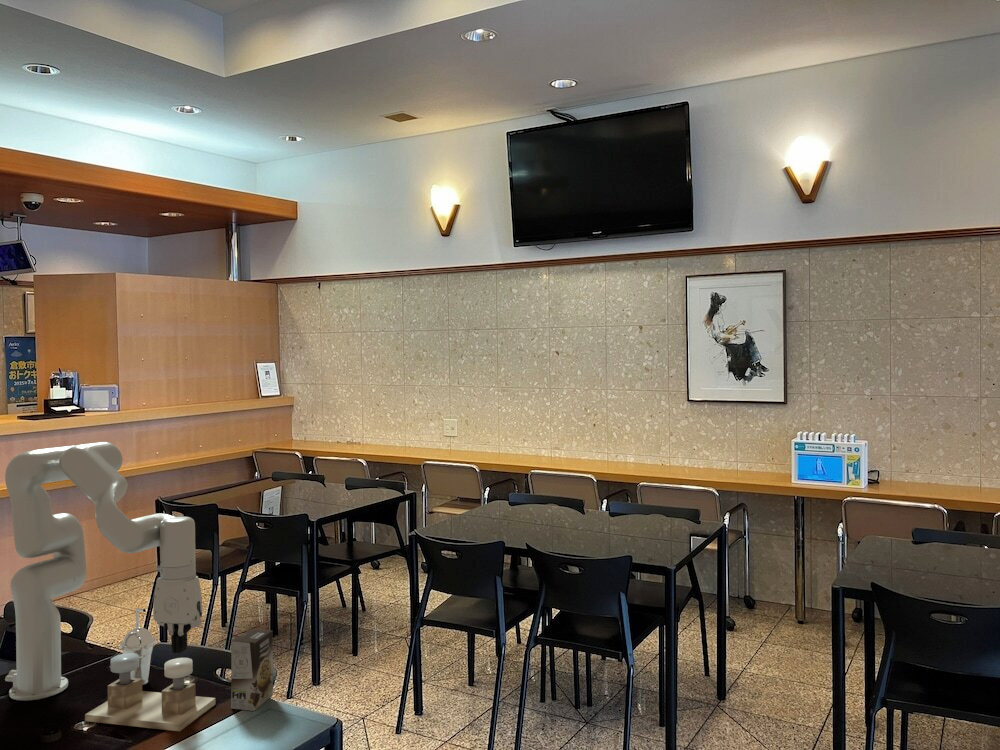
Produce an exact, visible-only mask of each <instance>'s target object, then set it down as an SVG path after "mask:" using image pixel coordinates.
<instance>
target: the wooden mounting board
mask: <svg viewBox="0 0 1000 750" xmlns="http://www.w3.org/2000/svg"><path fill="white" fill-rule="evenodd" d="M215 705H216V697H209V696H197V695H196V683H194V682H193V683H190V682H184V689H182V690H181V691H179V690H173V683H171V684H170V685H169V686H167V687H166V688H165V687H164V688H163V689H162V690H161V692H159V691H158V692H157V691H146V690H143V685H142V679H140V678H131V683H130V684H128V685H119V678H118V679H117V680H115V681H113V682H111V683H110V684H108V685H107V700H106V701H105V702H103V703H102V704H100V705H98V706H97V707H95V708H93V709H91V710H90V711H88V712H87V713H85V714H84V721H85V722H92V723H99V724H100V723H101V724H109V725H119V726H128V727H134V728H135V727H138V728H145V729H146V728H147V729H155V730H163V731H173V732H181V731H182V730H184V729H185V728H186V727H188V726H189V725H190V724H192V723H193V722H195V720H197V719H198V718H199V717H201V716H202V715H203V714H205V713H206V712H208V711H209V710H210V709H211V708H213V707H214V706H215Z"/></svg>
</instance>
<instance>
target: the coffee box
mask: <svg viewBox="0 0 1000 750" xmlns="http://www.w3.org/2000/svg"><path fill="white" fill-rule="evenodd" d="M273 632H274V630H270V629H251V628H250V629H249V630H247V631H245V632H244V633H242V634H241V635H238V636H237V637H235V638H234V639H233V640H231V649H230V651H231V653H230V654H231V655H230V656H231V658H230V659H231V661H230V662H231V665H230V666H231V668H230V670H231V673H230V677H231V678H230V681H231V682H230V683H231V685H230V688H231V689H230V692H231V693H230V696H231V697H230V699H231V701H230V709H234V710H242V711H243V710H244V711H251V712H254V711H256V710H258V708H260V707H261V706H262V705H264V703H266V702H267V701H268V700H270V698H272V697H273V695H274V658H273V657H274V653H273V652H274V648H273V647H274V641H273V640H274V639H273V638H274V633H273Z"/></svg>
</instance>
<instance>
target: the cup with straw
mask: <svg viewBox="0 0 1000 750" xmlns="http://www.w3.org/2000/svg"><path fill="white" fill-rule="evenodd" d="M140 612H142V613H146V609H145V608H141V607H140V608H139V607H136V609H135V628H133V629H131V630H129V631H128V632H127V633H125V635H124V638H123V640H122V641H121V642H120V643H119V649H121V650H122V654H126V653H135V654H138V655H139V667H138V668H137V669H136V670H133V671H131V678H140V679H142V686H144V685H147V684H148V683H149V676H150V675H149V674H150V668H151V659H152V653H153V649H154V646H155V645H156V644H157V641H156V637H154V636H153V634H152V633H151V631H150V630H149V629H146V628H145V627H140V621H139V617H140Z"/></svg>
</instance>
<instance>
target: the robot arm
mask: <svg viewBox="0 0 1000 750" xmlns="http://www.w3.org/2000/svg"><path fill="white" fill-rule="evenodd" d="M122 465H123V455H122V453H121V451H120V449H119V447H118V446H116V445H115V444H113V443H111V442H109V441H98V442H92V443H83V444H77V445H76V444H74V445H65V446H56V447H47V448H39V449H33V450H28V451H24V452H22V453H19V454H17V455H15V456H14V457H13V458H12V459H10V461H9V462H8V464H7V467H6V468H5V473H4V474H5V475H4V478H5V479H4V480H5V481H4V482H5V487H6V490H7V494H8V495H9V501H10V504H11V505H10V506H11V517H12V530H13V540H14V542H13V543H14V547H15V551H16V553H17V555H18V556H20V558H24V559H34V558H35V559H36V558H39V557H44V556H47V555H51V554H52V555H53V558H50V559H46V560H45V559H44V560H41V561H38V562H34V563H30V564H28V565H26V566H23V567H21V568H20V569H18V570H17V571H16V572H15V573H14V574H13V576H12V578H11V580H10V591H11V596H12V601H13V604H14V605H13V606H14V611H15V613H14V614H15V636H16V637H15V638H16V639H15V640H16V641H15V647H16V648H15V650H16V653H15V654H16V655H15V657H16V658H15V659H16V665H15V666H16V669H11V670H9V672H8V674H7V675H6V676H5V678H4V680H5V682H9V683H10V682H11V683H12V687H11V688H10V689H9V691H8V696H9V697H10V698H11V699H12V700H14V701H15V700H16V701H23V702H24V701H36V700H41V699H42V700H43V699H46V698H49V697H51V696H52V697H53V696H56V695H57V694H59V693H62V692H64V690H66V689H67V688H68V686H69V679H68V678H67V677H65V676H62V639H61V638H62V635H61V634H62V632H61V631H62V629H61V626H62V625H61V614H60V611H59V609H58V607H57V606H56V604H55V603H54V602H53V599H55V598H57V597H60V596H63V595H66V594H68V593H71V592H74V591H76V590H78V589H80V588H81V587H82V586H83V584H84V583H85V581H86V577H87V559H86V558H87V557H86V549H85V548H86V547H85V537H84V535H85V534H84V530H83V526H82V524H81V522H80V520H79V519H78V518H77V517H76V516H75V515H73V514H71V513H68V512H60V513H59V512H58V513H55V514H53V509H52V500H51V497H50V495H49V493H48V492H47V490H46V489H45V488H44V487H43V486H42V485H44V484H48V483H56V482H57V483H58V482H62V481H67V480H69V481H71V482H72V483H73V484H74V485H75V486H76V487H77V488H78V489H79V490H80V491H81V492H82V493H84V495H85V496H86V497H87V498H88V499H89V500H90V501H91V502H93V504H94V506H95V508H94V515H95V521H96V524H97V528H98V530H99V531H100V533H101V535H103V537H105V539H107V540H108V541H109V543H111V545H113V546H114V547H115V548H116V549H118V550H119V551H121V552H123V553H125V554H136V553H140V552H143V551H145V550H149V549H155V548H157V547H159V555H160V556H159V557H160V558H159V559H160V560H159V565H157V566H156V571H157V572H159V573H160V574H159V575H160V577H158V578H157V579H156V584H155V589H154V592H153V593H154V596H153V605H152V614H153V620H154V621H155V622H156V624H157V625H158V626H161V627H165V629H166V630H167V632H168V634H169V636H171V637H170V638H171V653H172V654H181V653H182V652H184V651H186V650H187V649H188V633H189V632H190V631H191V630H192V629H195V628H198V627H200V626H202V620H201V618H202V617H203V596H202V588H201V583H200V579H199V576H198V575H197V568H196V566H197V565H196V564H197V563H196V557H197V556H196V522H195V520H194V518H192V517H190V516H176V515H175V516H174V515H171V514H169V513H164V512H163V513H162V512H161V513H160V512H159V513H157V512H156V513H154V514H149V515H145V516H140V517H137V518H132V519H130V518H129V517H128V516H127V515H125V513H123V511H121V509H120V508H119V506H118V505H117V503H118V502H120V500H121V499H122V498H123V497H124V495H126V493H127V490H128V488H129V487H128V486H129V485H128V481H127V479H126V478H125V477H124V476H123V475H121V473H120V472H119V470H120V469H121V468H122Z"/></svg>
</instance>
